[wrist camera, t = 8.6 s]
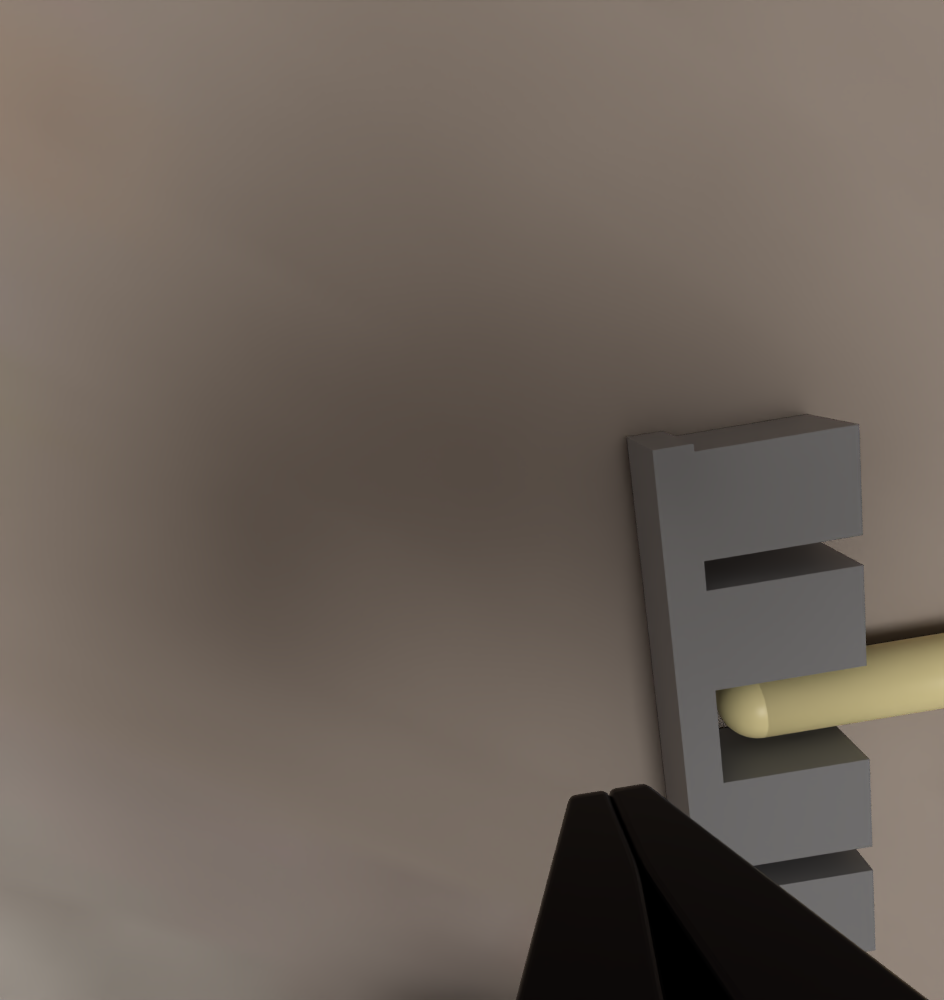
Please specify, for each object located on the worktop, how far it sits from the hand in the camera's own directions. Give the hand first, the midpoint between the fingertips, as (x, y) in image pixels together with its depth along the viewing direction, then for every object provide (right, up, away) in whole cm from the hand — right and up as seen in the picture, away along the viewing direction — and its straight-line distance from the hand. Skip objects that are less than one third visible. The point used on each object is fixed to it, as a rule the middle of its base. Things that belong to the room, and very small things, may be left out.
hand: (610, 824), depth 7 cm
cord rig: (+15, -1, +13) cm, 20 cm away
